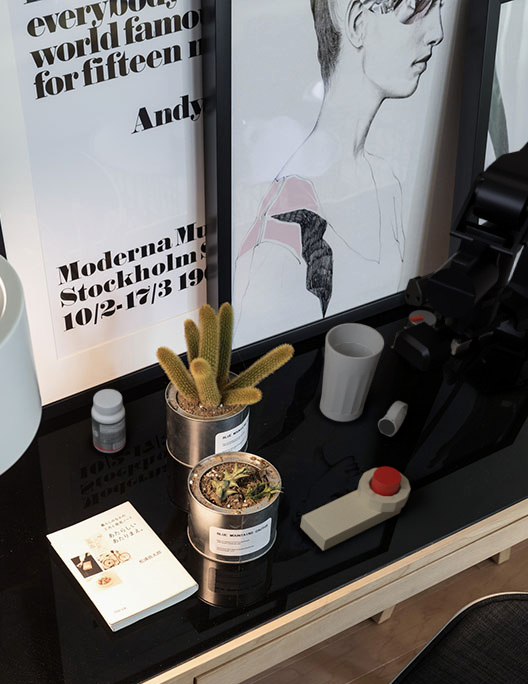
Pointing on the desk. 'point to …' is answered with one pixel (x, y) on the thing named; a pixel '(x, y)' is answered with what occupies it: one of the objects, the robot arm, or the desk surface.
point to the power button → (386, 481)
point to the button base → (353, 512)
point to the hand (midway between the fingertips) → (449, 383)
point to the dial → (421, 318)
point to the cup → (349, 369)
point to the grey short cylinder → (396, 414)
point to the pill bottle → (108, 421)
